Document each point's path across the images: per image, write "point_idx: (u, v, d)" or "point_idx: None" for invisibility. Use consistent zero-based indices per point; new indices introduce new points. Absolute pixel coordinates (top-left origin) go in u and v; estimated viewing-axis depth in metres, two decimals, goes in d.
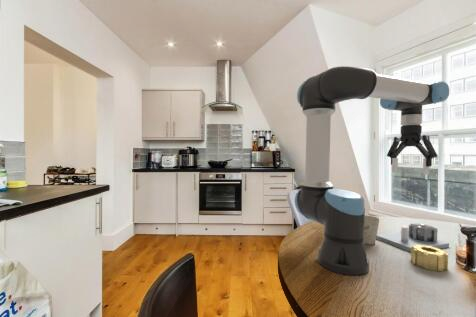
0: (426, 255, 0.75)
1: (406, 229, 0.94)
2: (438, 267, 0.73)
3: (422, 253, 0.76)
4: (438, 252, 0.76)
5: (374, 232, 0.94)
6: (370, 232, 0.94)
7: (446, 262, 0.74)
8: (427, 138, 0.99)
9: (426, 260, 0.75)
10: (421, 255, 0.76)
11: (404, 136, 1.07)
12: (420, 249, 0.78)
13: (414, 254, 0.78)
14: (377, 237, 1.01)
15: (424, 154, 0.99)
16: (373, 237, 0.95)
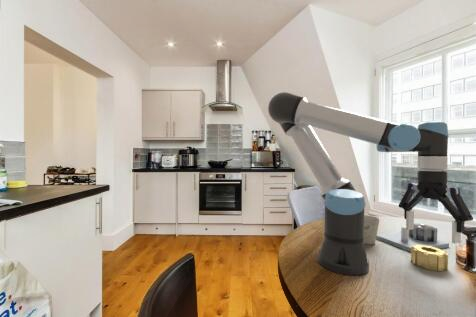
0: (426, 255, 0.75)
1: (406, 229, 0.94)
2: (438, 267, 0.73)
3: (422, 253, 0.76)
4: (438, 252, 0.76)
5: (374, 232, 0.94)
6: (370, 232, 0.94)
7: (446, 262, 0.74)
8: (457, 192, 0.71)
9: (426, 260, 0.75)
10: (421, 255, 0.76)
11: (423, 184, 0.79)
12: (420, 249, 0.78)
13: (414, 254, 0.78)
14: (377, 237, 1.01)
15: (453, 214, 0.71)
16: (373, 237, 0.95)
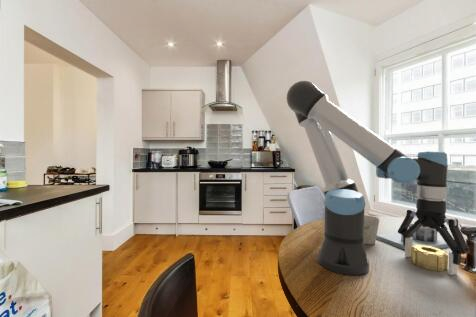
0: (426, 255, 0.75)
1: None
2: (438, 267, 0.73)
3: (422, 253, 0.76)
4: (438, 252, 0.76)
5: (374, 232, 0.94)
6: (370, 232, 0.94)
7: (446, 262, 0.74)
8: (455, 224, 0.71)
9: (426, 260, 0.75)
10: (421, 255, 0.76)
11: (421, 212, 0.79)
12: (420, 249, 0.78)
13: (414, 254, 0.78)
14: (377, 237, 1.01)
15: (450, 246, 0.71)
16: (373, 237, 0.95)
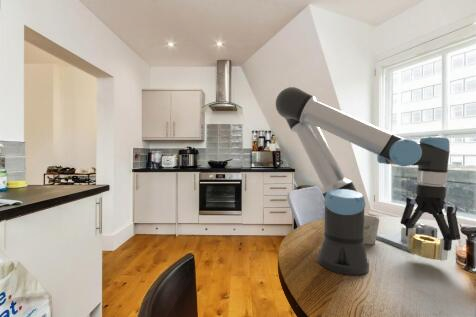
0: (424, 244, 0.75)
1: None
2: (435, 256, 0.74)
3: (420, 242, 0.76)
4: (436, 241, 0.76)
5: (374, 232, 0.94)
6: (370, 232, 0.94)
7: None
8: (453, 211, 0.72)
9: (423, 249, 0.75)
10: (419, 244, 0.77)
11: (420, 197, 0.80)
12: (418, 238, 0.78)
13: (412, 243, 0.78)
14: (377, 237, 1.01)
15: (443, 232, 0.73)
16: (373, 237, 0.95)
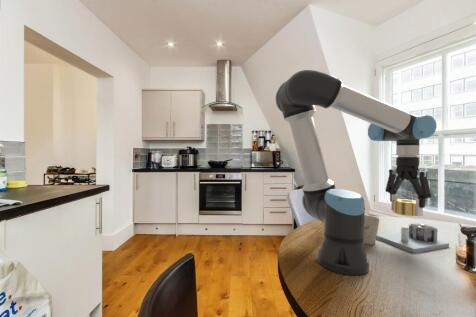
0: (403, 204, 0.92)
1: (406, 229, 0.94)
2: (413, 213, 0.91)
3: (400, 203, 0.94)
4: (413, 202, 0.93)
5: (374, 232, 0.94)
6: (370, 232, 0.94)
7: None
8: (425, 175, 0.89)
9: (403, 208, 0.92)
10: (400, 205, 0.94)
11: (399, 167, 0.97)
12: (399, 200, 0.96)
13: (394, 205, 0.95)
14: (377, 237, 1.01)
15: (418, 193, 0.90)
16: (373, 237, 0.95)
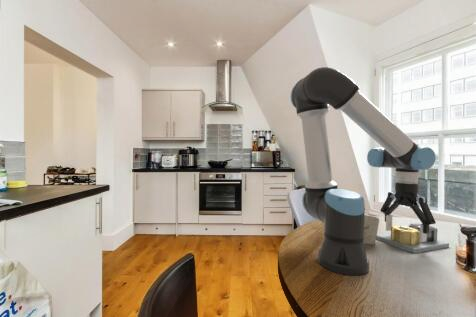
0: (401, 232, 0.92)
1: (406, 229, 0.94)
2: (411, 242, 0.91)
3: (399, 231, 0.94)
4: (411, 230, 0.93)
5: (374, 232, 0.94)
6: (370, 232, 0.94)
7: (418, 238, 0.92)
8: (424, 201, 0.89)
9: (401, 236, 0.92)
10: (398, 233, 0.94)
11: (399, 193, 0.97)
12: (398, 228, 0.96)
13: (393, 232, 0.96)
14: (377, 237, 1.01)
15: (421, 219, 0.89)
16: (373, 237, 0.95)
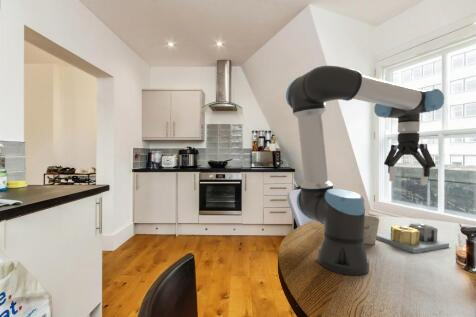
0: (401, 232, 0.92)
1: (406, 229, 0.94)
2: (411, 242, 0.91)
3: (399, 231, 0.94)
4: (411, 230, 0.93)
5: (374, 232, 0.94)
6: (370, 232, 0.94)
7: (418, 238, 0.92)
8: (425, 147, 0.95)
9: (401, 236, 0.92)
10: (398, 233, 0.94)
11: (401, 144, 1.03)
12: (398, 228, 0.96)
13: (393, 232, 0.96)
14: (377, 237, 1.01)
15: (422, 163, 0.95)
16: (373, 237, 0.95)
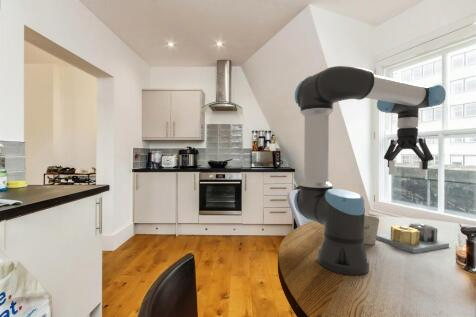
0: (401, 232, 0.92)
1: (406, 229, 0.94)
2: (411, 242, 0.91)
3: (399, 231, 0.94)
4: (411, 230, 0.93)
5: (374, 232, 0.94)
6: (370, 232, 0.94)
7: (418, 238, 0.92)
8: (423, 141, 1.00)
9: (401, 236, 0.92)
10: (398, 233, 0.94)
11: (401, 139, 1.08)
12: (398, 228, 0.96)
13: (393, 232, 0.96)
14: (377, 237, 1.01)
15: (420, 157, 1.00)
16: (373, 237, 0.95)
